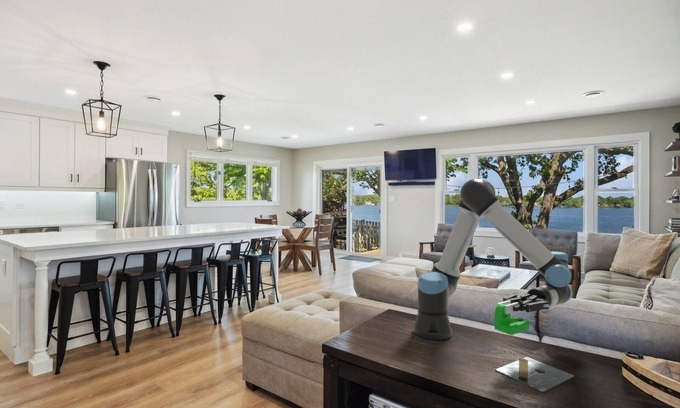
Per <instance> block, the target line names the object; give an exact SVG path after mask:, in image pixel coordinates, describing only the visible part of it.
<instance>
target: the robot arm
mask: <svg viewBox="0 0 680 408" xmlns="http://www.w3.org/2000/svg"><path fill="white" fill-rule="evenodd" d="M459 195H460V200H459V203H458V206H457V207H458V209H459V212H458V216H457V218H456V220H455V222H454V225H453V227H452V229H451V232H450V235H449V236H448V237H449V238H448V239H447V242H446V244H445V247H444V249H443V251H442V253H441V257H440V258H439V261H437V262H435V263H434V264H433V266H432V269H431V271H428V272H423V273H421V274H420V275H419V276H418V278H417V314H416V317H415V322H414V324H413V329H412V331H413V334H414V335H415V336H417V337H419V338H422V339H425V340H432V341H433V340H434V341H442V340H447V339H449V338H451V337H452V336H453V329H452V326H451V322H450V318H449V315H448V311H449V310H448V308H449V307H448V306H449V305H448V304H449V302H448V301H449V298H450V297H451V296H452V295H453V294H454V293H455V291H456V290H457V287H458V281H459V279H460V277H461V273H460V268H461V265H462V263H463V260H464V258H465V255H466V253H467V251H468V249H469V247H470V244H471V241H472V239H473V237H474V235H475V232H476V230H477V228H478V225H479V223H480V221H481V219H484V220H486V221H487V222H488V223H489V224H490V225H491V226H492V227H493V228H494V229H495V230H496V231H497V232H498V233H499V234H500V235H501V236H502V237H503V238H505V241H507V242H508V243H509V244H511V246H513V247H514V248H515V249H516V250H517V251H518V252H519V254H521V255H522V256H523V257H524V258H525V259H526V260H527V261H528V262H529V263H530V264H531V265H532V266H533V267H534V268H535V269H536V270H537V271H538V272H539V273H540V274H541V275H542V276H543V277H544V285H541V286H538V287H533V288H531V289H529V290H528V291H527V292H526V293H524V294H521V295H518V294H517V293H515V292H513V293H512V294H510V295H508V296H507V295H506V296H505V297H503V298H502V302H501V301H500V302H497V303H496V307H497V306H498V305H499V304H504V305H505V314H509V313H510V314H513V313H516V312H519V311H520V312H524V311H525V312H526V313H531V312H537V311H543V310H550V307H551V308H552V307H554V306H557V305H563V304H564V303H566V302H568V301H570V300H571V299H572V298H573V295H574V292H573V291H574V290H573V289H572V287H571V285H570V282H571V281H572V272H571V270H570V268H569V256H568V254H567V253H565V252H564V251H551V250H549V249H548V248H547V247H546V246H545V245H544V244H543V243H542V242H541V241H540V240H539V239H538V238H537V237H536V236H535V235H534V234H532V232H531V231H529V230H528V229H527V228H526V227H525V226H524V225H523V224H522V223H521V222H520V221H518V219H516V217H514V215H512V213H510V212H509V211H508V210H507V209H506V208H505V207H504V206H503V205H502V204H501V201H500V199H499V198H498V197H497V195H496V190H495V188H494V185H493V184H492V183H491V182H489V181H487V180H485V179H482V178H481V179H480V178H472V179H469V180H466V182H464V184H463V185H462V186H461V188H460V193H459Z"/></svg>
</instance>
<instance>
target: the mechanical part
mask: <svg viewBox="0 0 680 408" xmlns="http://www.w3.org/2000/svg"><path fill="white" fill-rule="evenodd" d="M494 330H496V331H499V332H501V333H505V334H506V335H510V336H513V335H516V334H519V333H522V332H525V331H528V330H530V321H529V320H527V319H525V318H522V317H518V316H514V317H511V313H509V314H505V305H504V304H499V305H498V306H497V305H496V307H495V311H494Z"/></svg>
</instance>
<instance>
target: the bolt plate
mask: <svg viewBox="0 0 680 408" xmlns="http://www.w3.org/2000/svg"><path fill="white" fill-rule="evenodd" d="M495 372H497V373H500V374H502V375H504V376H506V377H509V378H510V379H512V380H515V381H517V382H519V383H521V384H523V385H526V386H528V387H529V388H531V389H534V390H535V391H539V392H540V393H545V392H547V391H550V390H551V389H553V388H555V387H557V386H559V385H561V384H562V383H564V382H566V381H569V380H571V379H572V378H574V377H575V375H573V374H571V373H568V372H566V371H563V370H561V369H559V368H557V367H554V366H552V365H548V364H546V363H543V362H541V361H539V360H536V359H533V358H531V357H529V356H525V357H524V358H523V357H522V358H519V359H518V360H516V361H513V362H511V363H508V364H505V365H503V366H501V367H498V368H496V369H495Z"/></svg>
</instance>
